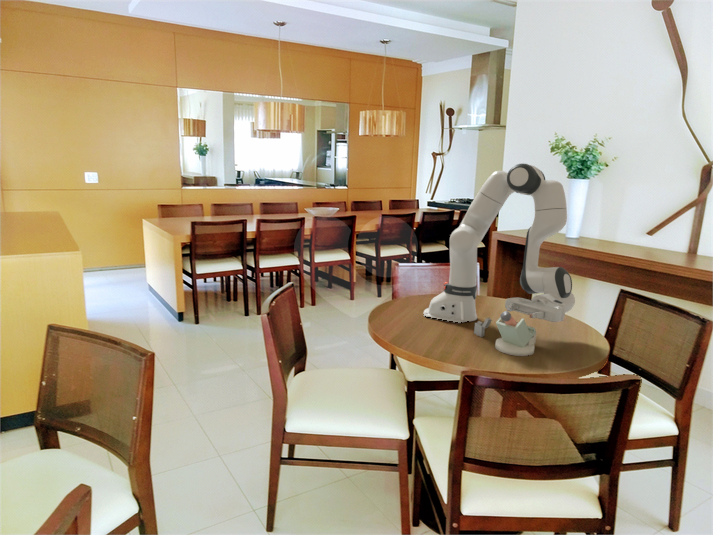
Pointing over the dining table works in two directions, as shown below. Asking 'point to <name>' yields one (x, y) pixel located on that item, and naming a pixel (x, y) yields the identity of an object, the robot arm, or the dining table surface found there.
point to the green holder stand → (516, 338)
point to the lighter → (481, 327)
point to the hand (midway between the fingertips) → (519, 312)
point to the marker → (508, 318)
